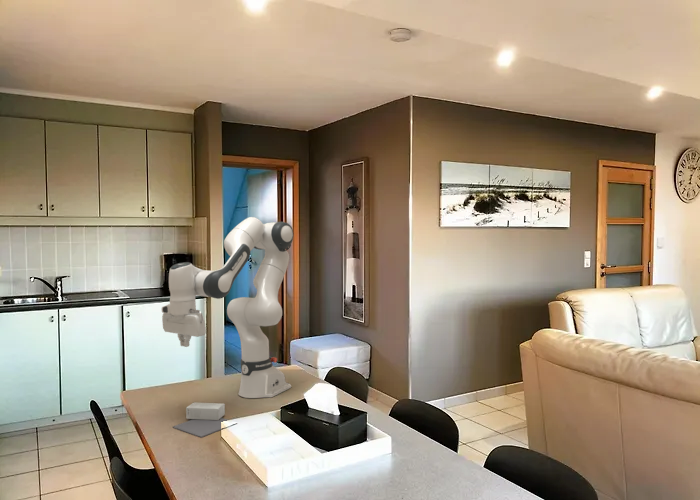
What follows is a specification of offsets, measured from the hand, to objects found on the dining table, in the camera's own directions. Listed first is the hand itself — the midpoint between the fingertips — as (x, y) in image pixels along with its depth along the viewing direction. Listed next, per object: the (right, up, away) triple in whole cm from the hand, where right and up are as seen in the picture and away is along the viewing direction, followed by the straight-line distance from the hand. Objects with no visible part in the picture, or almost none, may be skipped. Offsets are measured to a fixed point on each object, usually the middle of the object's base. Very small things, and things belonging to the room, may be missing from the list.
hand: (184, 346), depth 192 cm
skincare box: (+2, -23, -2) cm, 23 cm away
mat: (+10, -25, -10) cm, 29 cm away
